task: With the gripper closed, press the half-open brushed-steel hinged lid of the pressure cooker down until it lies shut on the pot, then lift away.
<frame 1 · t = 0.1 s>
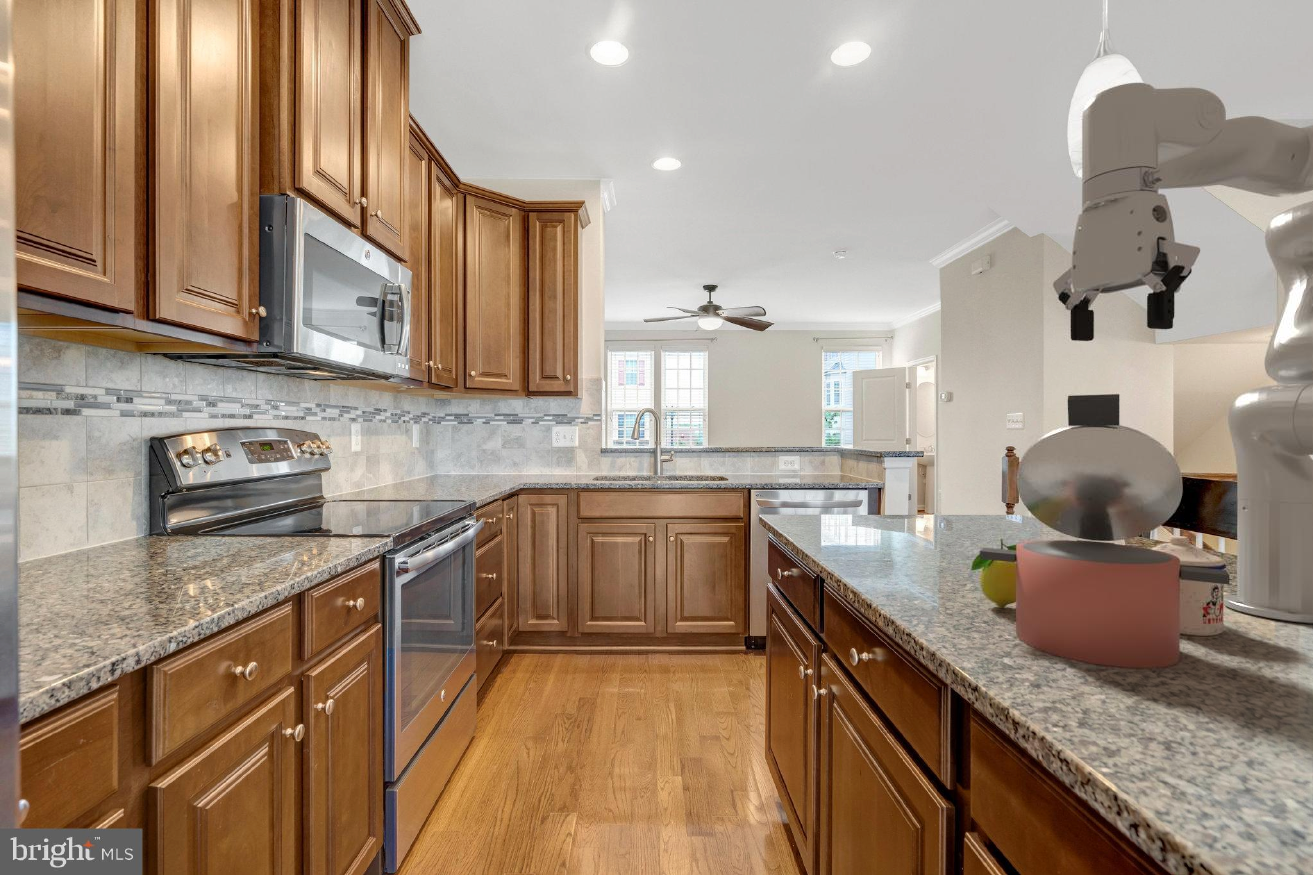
hand: (1118, 334, 78), 37 cm above the countertop, tool pointing down, fingers open, 9 cm apart
lemon: (1002, 609, 91), on the countertop
cooker pot: (1093, 643, 76), on the countertop
cooker lid: (1094, 469, 79), point 21 cm above the countertop, hinge at 60.0°
teacup with lid: (1180, 625, 84), on the countertop
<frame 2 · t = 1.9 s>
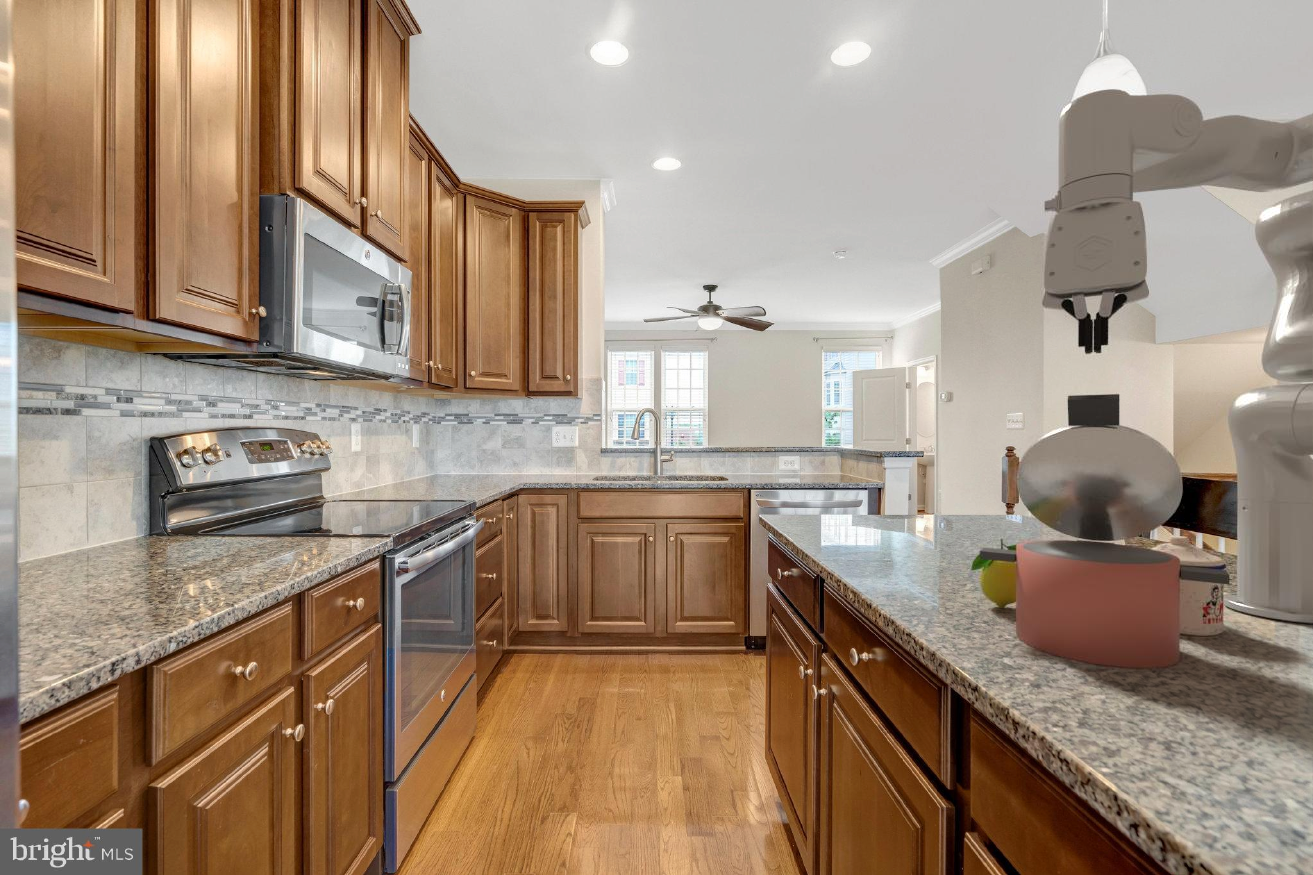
hand: (1093, 352, 77), 35 cm above the countertop, tool pointing down, fingers closed
nothing on the countertop moved.
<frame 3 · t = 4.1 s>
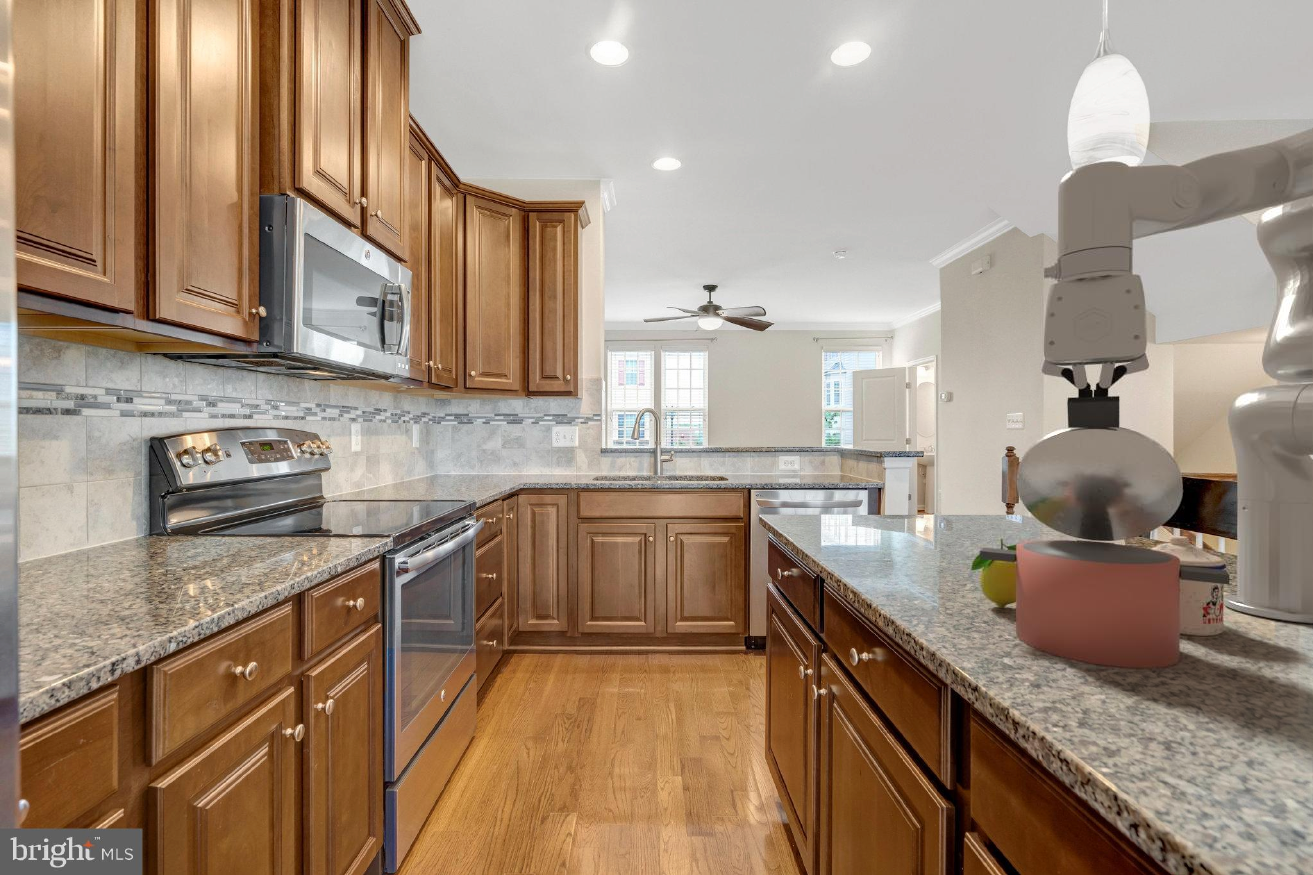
hand: (1093, 421, 77), 27 cm above the countertop, tool pointing down, fingers closed
cooker lid: (1094, 470, 79), point 21 cm above the countertop, hinge at 58.4°, touching gripper
everything else where it was.
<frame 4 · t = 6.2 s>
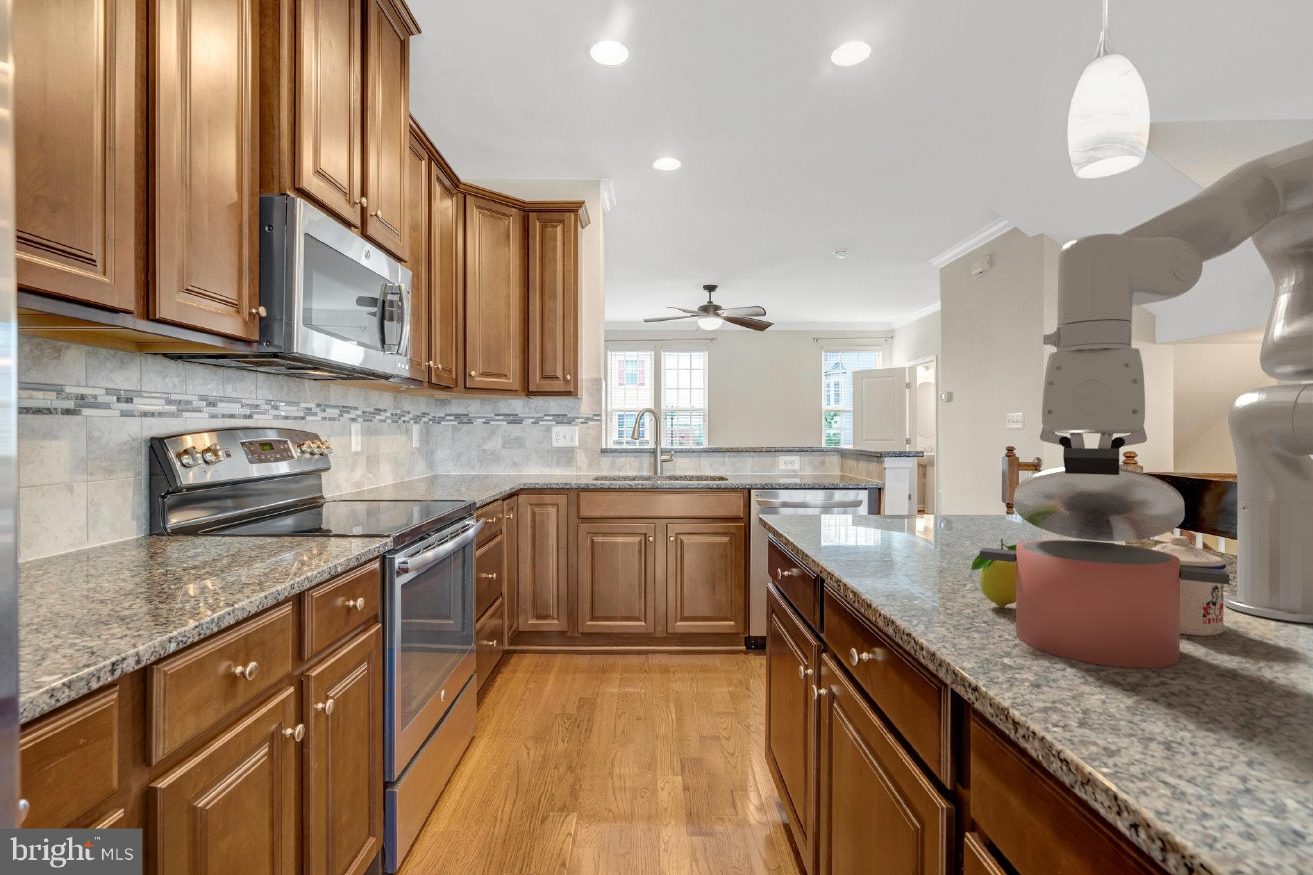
hand: (1090, 491, 77), 18 cm above the countertop, tool pointing down, fingers closed
cooker lid: (1093, 494, 76), point 18 cm above the countertop, hinge at 33.3°
everything else where it was.
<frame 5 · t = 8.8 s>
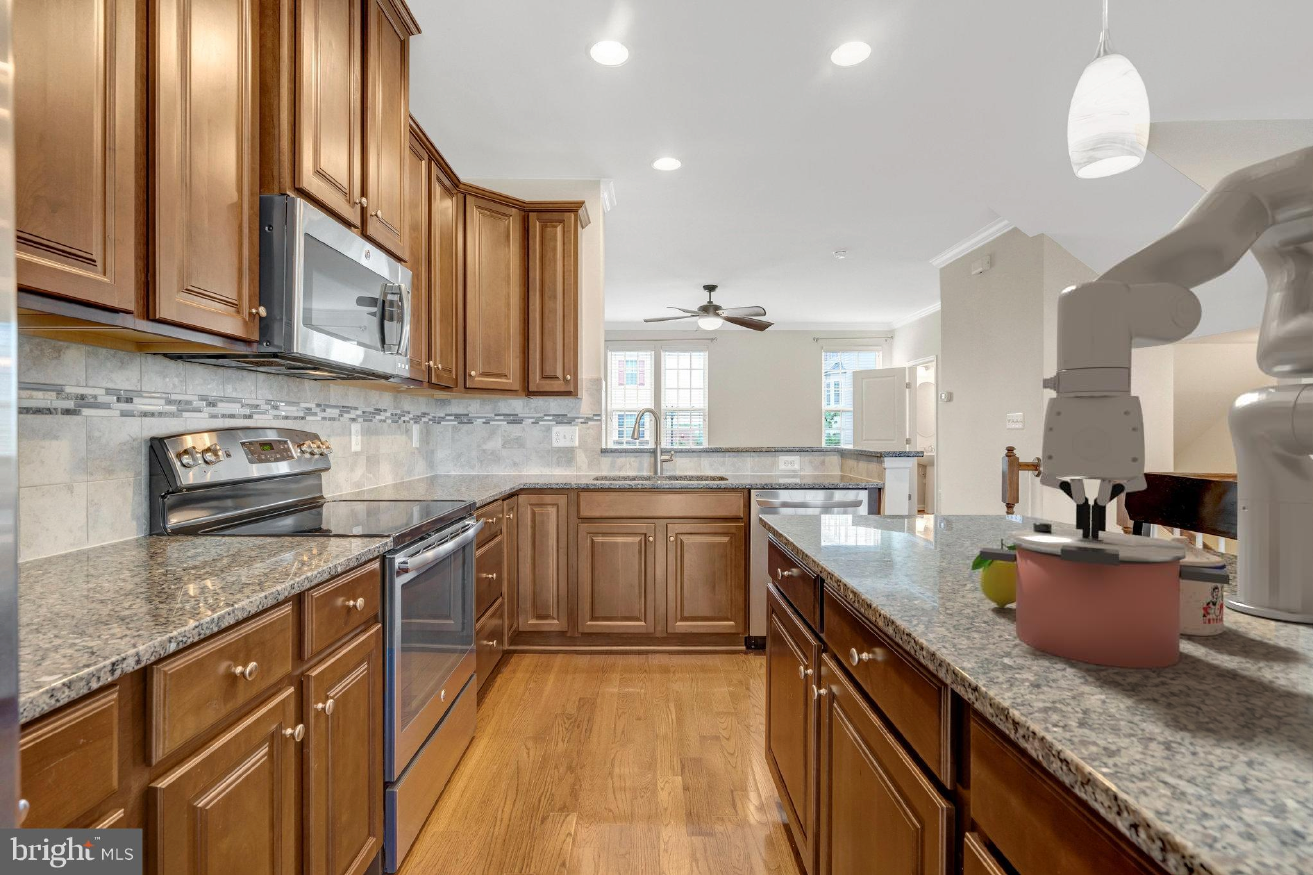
hand: (1090, 536, 77), 13 cm above the countertop, tool pointing down, fingers closed
cooker lid: (1092, 541, 74), point 12 cm above the countertop, hinge at 1.6°, touching gripper
everything else where it was.
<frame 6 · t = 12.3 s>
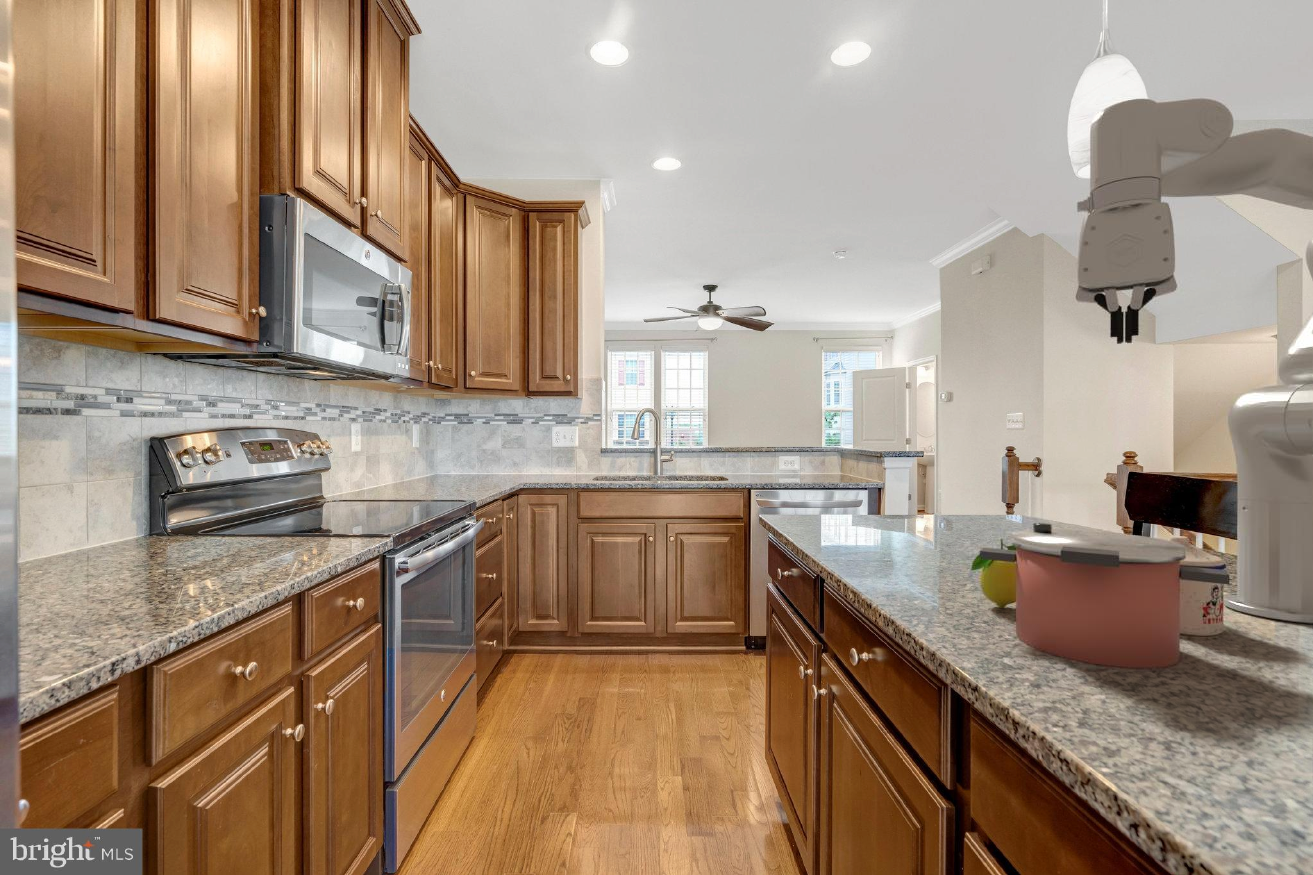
hand: (1124, 342, 84), 37 cm above the countertop, tool pointing down, fingers closed
cooker lid: (1092, 541, 74), point 12 cm above the countertop, hinge at 1.2°
everything else where it was.
at the end: cooker lid at +1° (first picture: +60°) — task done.
